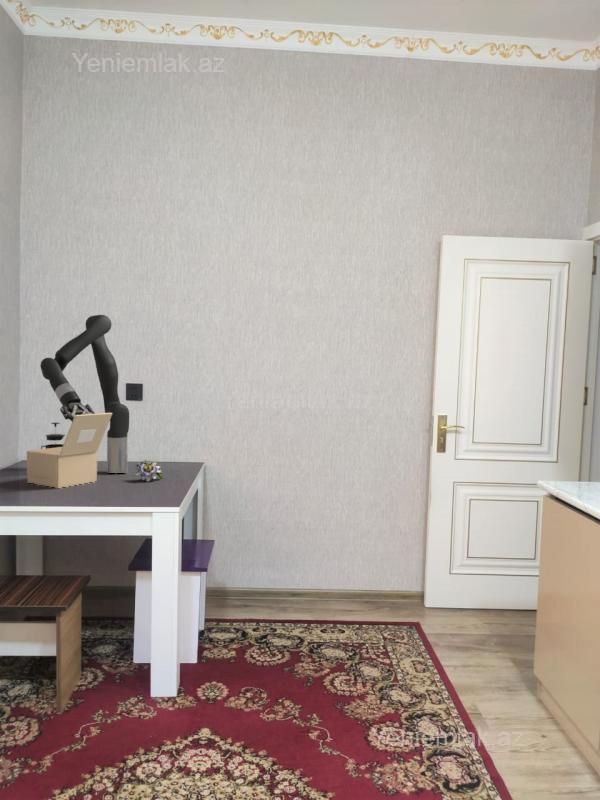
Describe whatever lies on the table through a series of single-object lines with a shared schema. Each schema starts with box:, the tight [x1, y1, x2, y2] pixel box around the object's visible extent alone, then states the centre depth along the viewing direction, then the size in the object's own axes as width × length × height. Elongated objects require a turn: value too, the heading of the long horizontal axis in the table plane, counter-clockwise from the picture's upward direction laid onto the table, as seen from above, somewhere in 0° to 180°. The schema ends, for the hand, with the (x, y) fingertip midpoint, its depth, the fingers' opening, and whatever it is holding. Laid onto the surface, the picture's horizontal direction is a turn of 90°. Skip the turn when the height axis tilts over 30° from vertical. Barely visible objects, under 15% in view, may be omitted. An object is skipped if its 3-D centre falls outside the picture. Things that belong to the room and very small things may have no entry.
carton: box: [26, 447, 98, 489], centre depth 282 cm, size 21×21×14 cm
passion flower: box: [134, 458, 164, 482], centre depth 291 cm, size 11×11×12 cm
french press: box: [40, 422, 66, 449], centre depth 315 cm, size 12×9×23 cm
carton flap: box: [60, 412, 112, 456], centre depth 273 cm, size 20×19×1 cm
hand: (86, 424), depth 273 cm, fingers open, 8 cm apart
